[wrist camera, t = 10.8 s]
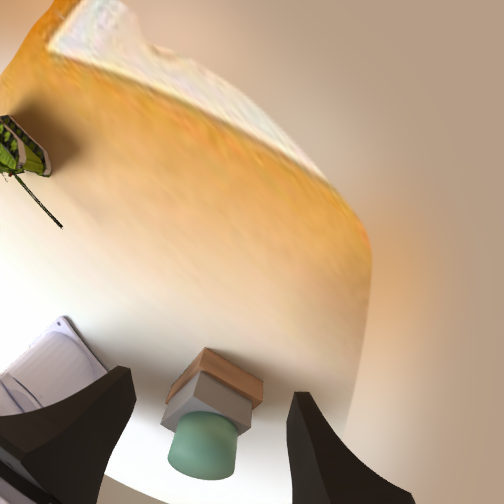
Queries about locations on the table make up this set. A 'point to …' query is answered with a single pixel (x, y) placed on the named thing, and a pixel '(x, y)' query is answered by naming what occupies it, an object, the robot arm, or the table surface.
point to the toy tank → (22, 154)
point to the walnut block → (221, 377)
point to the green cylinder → (204, 446)
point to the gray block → (208, 403)
